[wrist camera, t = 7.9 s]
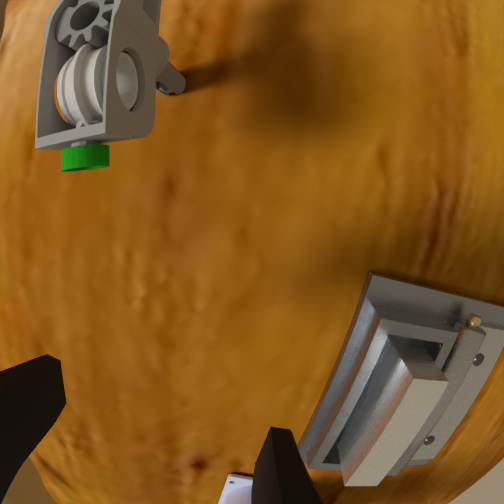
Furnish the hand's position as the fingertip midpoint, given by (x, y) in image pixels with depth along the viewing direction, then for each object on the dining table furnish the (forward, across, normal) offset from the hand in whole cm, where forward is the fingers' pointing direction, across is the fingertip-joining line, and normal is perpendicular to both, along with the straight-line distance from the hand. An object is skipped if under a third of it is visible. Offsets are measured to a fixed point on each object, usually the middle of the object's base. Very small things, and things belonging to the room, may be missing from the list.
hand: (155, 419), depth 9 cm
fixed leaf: (+10, -15, +4) cm, 19 cm away
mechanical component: (+11, +5, -12) cm, 17 cm away
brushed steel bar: (+10, -12, +4) cm, 16 cm away
